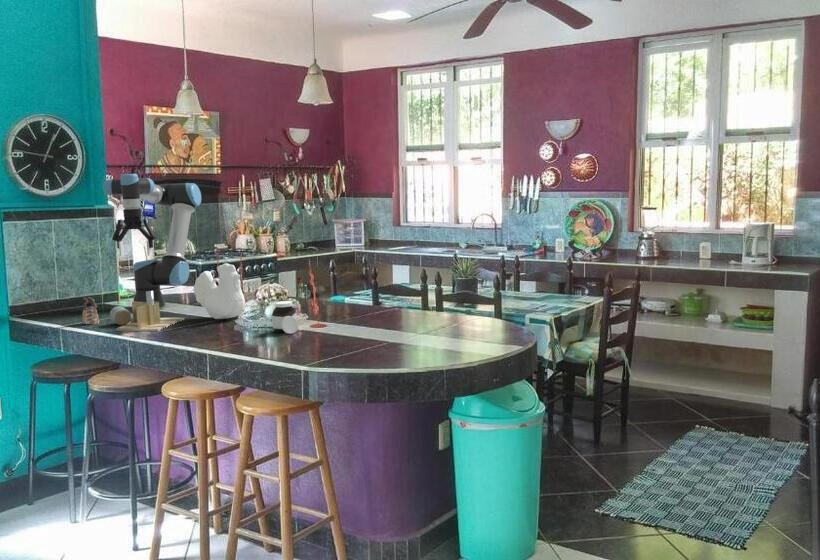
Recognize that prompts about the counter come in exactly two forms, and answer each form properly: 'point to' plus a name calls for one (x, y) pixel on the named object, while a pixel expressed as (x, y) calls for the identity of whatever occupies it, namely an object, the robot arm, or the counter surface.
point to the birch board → (163, 323)
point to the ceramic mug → (120, 316)
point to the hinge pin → (149, 297)
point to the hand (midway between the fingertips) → (136, 255)
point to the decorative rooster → (220, 292)
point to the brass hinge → (146, 313)
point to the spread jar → (284, 317)
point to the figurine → (89, 312)
